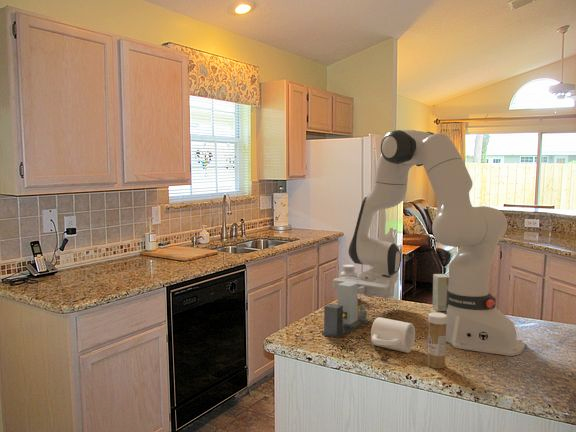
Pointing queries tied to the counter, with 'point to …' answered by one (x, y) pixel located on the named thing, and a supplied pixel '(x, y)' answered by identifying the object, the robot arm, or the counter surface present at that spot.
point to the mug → (393, 334)
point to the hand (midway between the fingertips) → (351, 291)
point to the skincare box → (440, 291)
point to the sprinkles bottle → (437, 340)
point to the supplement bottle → (348, 271)
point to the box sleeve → (348, 300)
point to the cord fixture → (341, 320)
